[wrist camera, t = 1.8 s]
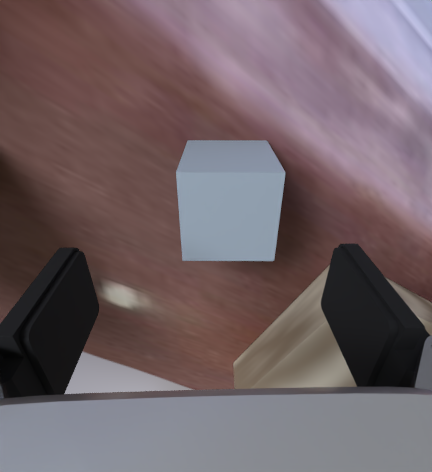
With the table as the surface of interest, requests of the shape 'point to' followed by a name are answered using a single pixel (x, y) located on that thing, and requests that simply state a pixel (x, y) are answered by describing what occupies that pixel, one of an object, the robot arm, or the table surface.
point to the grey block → (229, 200)
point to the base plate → (306, 345)
